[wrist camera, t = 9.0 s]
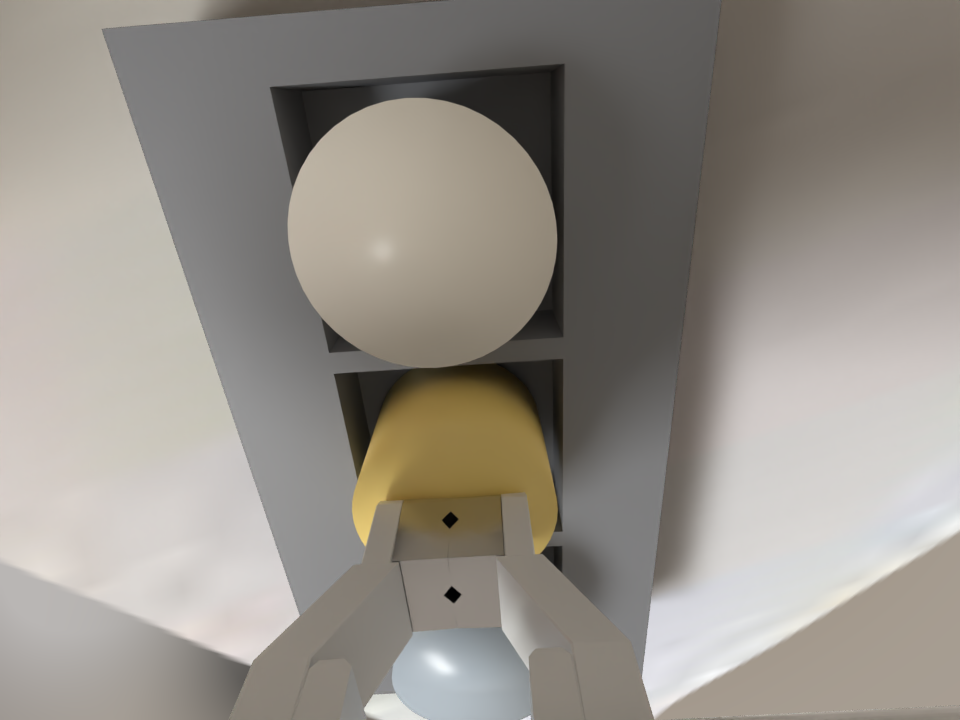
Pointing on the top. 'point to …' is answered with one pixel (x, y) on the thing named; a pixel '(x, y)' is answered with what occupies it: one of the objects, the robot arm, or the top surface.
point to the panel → (573, 286)
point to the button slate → (462, 675)
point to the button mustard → (458, 445)
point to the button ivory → (422, 232)
